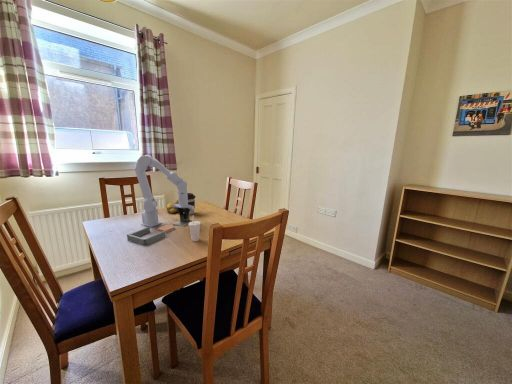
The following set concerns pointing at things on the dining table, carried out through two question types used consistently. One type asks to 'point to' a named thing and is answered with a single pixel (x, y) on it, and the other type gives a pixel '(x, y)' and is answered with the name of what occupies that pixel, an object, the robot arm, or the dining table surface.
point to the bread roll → (170, 207)
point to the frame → (135, 238)
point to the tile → (166, 228)
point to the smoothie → (194, 229)
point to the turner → (182, 220)
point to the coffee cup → (191, 202)
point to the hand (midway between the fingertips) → (184, 218)
